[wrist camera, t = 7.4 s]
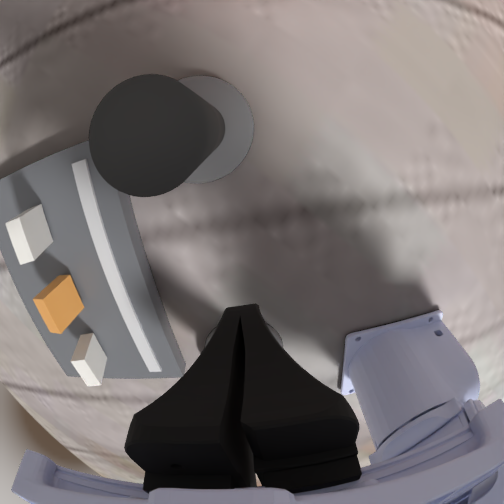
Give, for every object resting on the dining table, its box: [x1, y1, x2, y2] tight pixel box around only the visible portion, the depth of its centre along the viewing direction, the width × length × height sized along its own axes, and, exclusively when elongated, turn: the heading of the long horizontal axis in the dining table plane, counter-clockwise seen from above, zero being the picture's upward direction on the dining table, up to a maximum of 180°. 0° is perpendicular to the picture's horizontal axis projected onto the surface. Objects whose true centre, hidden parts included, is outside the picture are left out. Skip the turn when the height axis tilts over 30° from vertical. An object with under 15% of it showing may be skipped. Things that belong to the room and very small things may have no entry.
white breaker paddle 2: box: [71, 333, 107, 386], centre depth 18 cm, size 1×3×3 cm, turn 8°
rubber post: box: [89, 74, 254, 197], centre depth 11 cm, size 6×6×10 cm
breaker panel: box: [0, 140, 186, 379], centre depth 18 cm, size 12×18×2 cm, turn 8°
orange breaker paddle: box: [33, 275, 84, 334], centre depth 16 cm, size 1×3×3 cm, turn 8°
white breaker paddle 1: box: [5, 204, 53, 265], centre depth 14 cm, size 1×3×3 cm, turn 8°
